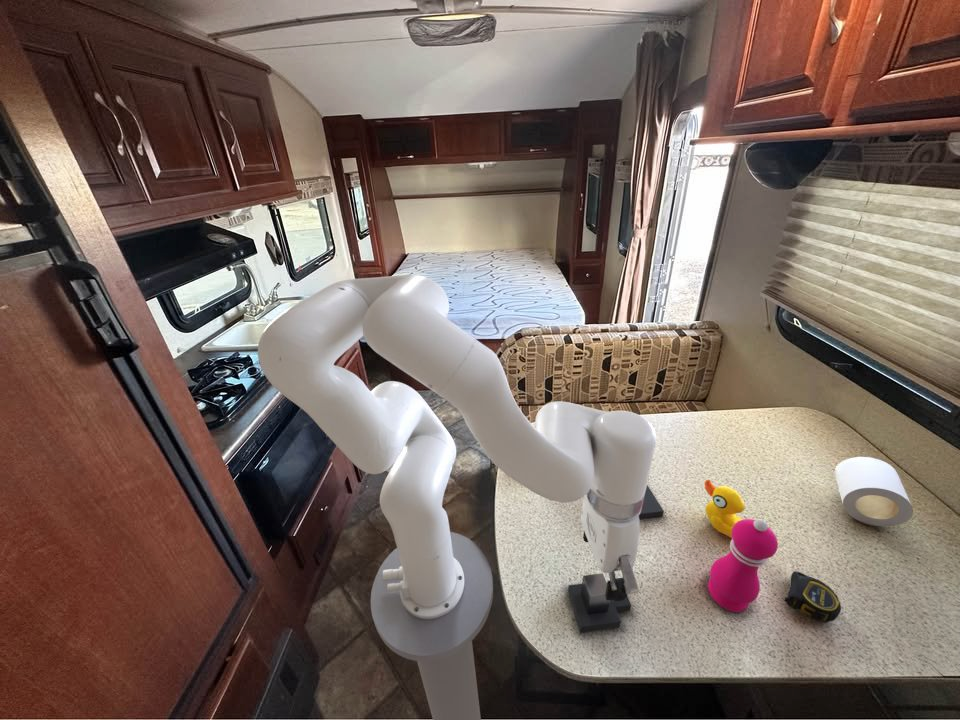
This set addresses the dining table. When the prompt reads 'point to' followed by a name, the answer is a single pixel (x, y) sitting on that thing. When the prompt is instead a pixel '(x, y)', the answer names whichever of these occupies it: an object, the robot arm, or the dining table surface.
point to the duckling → (723, 507)
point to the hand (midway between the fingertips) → (603, 566)
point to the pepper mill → (742, 565)
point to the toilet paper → (872, 492)
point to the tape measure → (813, 598)
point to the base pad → (650, 506)
